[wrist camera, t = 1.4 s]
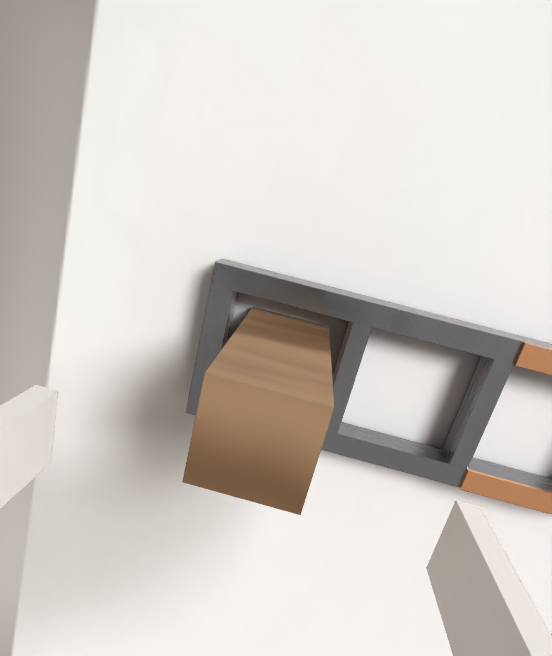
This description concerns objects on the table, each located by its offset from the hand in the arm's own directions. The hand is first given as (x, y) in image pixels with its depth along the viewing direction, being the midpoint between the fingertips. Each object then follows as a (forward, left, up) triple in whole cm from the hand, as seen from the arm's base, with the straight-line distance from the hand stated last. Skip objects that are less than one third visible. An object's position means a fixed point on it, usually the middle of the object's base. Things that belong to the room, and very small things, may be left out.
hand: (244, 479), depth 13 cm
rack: (0, +8, -11) cm, 14 cm away
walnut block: (0, 0, -11) cm, 11 cm away
